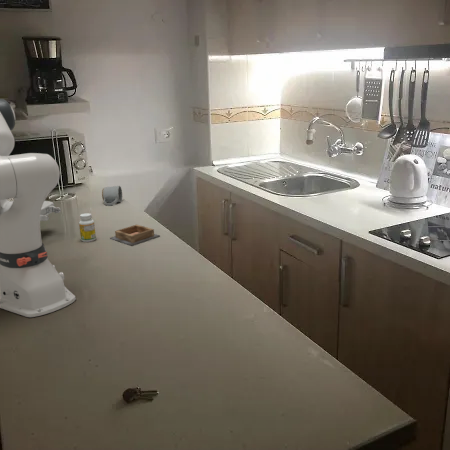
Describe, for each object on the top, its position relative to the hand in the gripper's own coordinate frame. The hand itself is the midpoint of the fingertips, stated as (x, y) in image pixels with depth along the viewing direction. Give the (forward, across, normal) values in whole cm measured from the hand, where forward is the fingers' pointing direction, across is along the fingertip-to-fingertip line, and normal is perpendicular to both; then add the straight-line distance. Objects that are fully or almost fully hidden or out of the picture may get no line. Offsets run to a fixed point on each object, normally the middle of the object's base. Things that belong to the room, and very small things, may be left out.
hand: (53, 214), depth 188 cm
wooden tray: (+29, +3, +9) cm, 31 cm away
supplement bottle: (+13, 0, +10) cm, 16 cm away
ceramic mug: (+2, +52, +10) cm, 53 cm away
